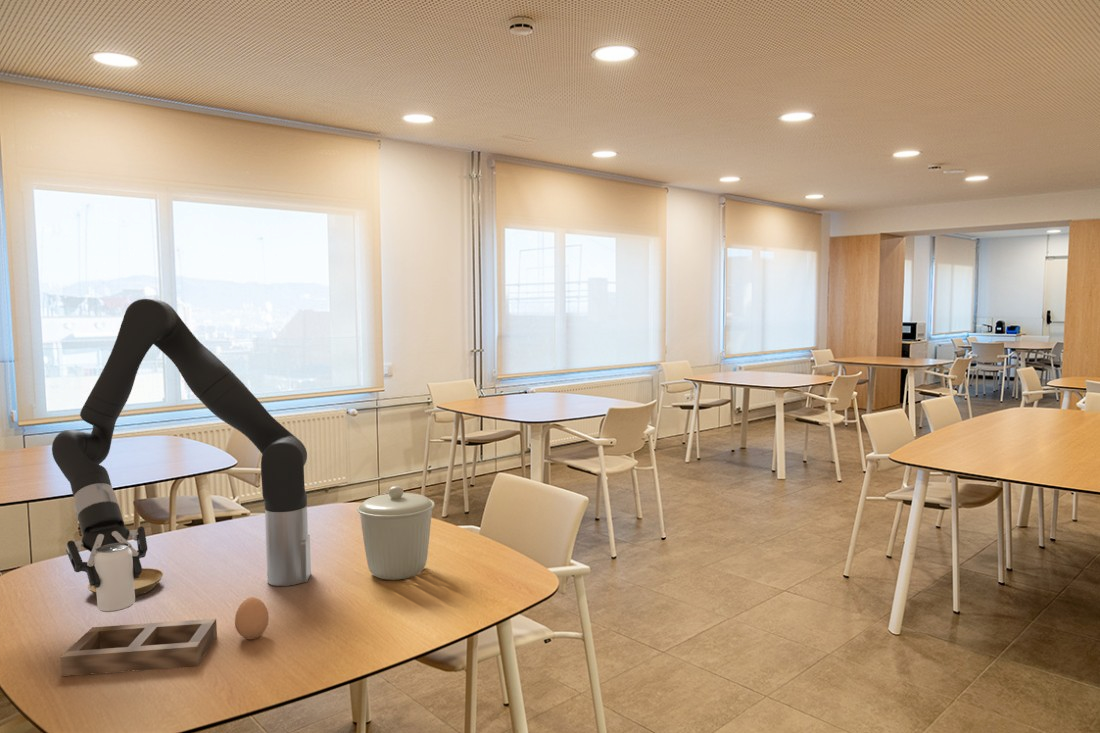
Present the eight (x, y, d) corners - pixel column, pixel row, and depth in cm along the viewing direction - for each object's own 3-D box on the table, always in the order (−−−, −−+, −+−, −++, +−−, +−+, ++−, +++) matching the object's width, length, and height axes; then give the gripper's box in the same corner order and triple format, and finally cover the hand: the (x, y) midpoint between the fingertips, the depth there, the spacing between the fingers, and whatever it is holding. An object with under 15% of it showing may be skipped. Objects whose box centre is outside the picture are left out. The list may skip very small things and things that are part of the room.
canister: (381, 593, 162) (379, 499, 161) (345, 571, 176) (343, 485, 174) (450, 573, 174) (449, 486, 173) (411, 555, 188) (409, 474, 186)
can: (108, 615, 141) (104, 554, 140) (91, 608, 144) (86, 549, 143) (141, 603, 146) (138, 545, 145) (124, 597, 150) (120, 540, 149)
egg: (258, 646, 137) (256, 605, 136) (229, 643, 138) (227, 603, 137) (275, 632, 143) (274, 592, 142) (247, 630, 144) (245, 591, 143)
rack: (216, 636, 141) (216, 618, 141) (197, 665, 129) (196, 646, 129) (93, 645, 138) (92, 627, 137) (61, 676, 126) (60, 656, 125)
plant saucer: (131, 606, 157) (130, 594, 156) (72, 601, 159) (71, 589, 159) (178, 581, 171) (177, 570, 171) (123, 576, 174) (123, 566, 174)
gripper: (59, 507, 144) (77, 581, 137) (139, 493, 154) (160, 561, 147) (55, 528, 148) (73, 601, 141) (134, 513, 158) (154, 580, 151)
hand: (117, 580), depth 144 cm, fingers closed on can, 6 cm apart
